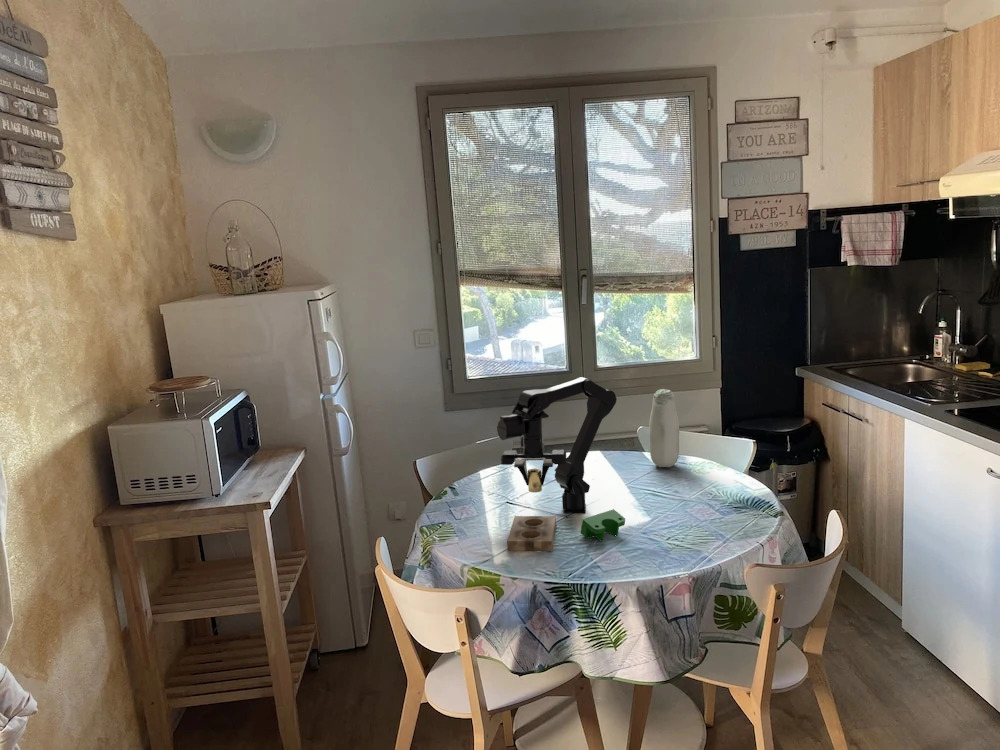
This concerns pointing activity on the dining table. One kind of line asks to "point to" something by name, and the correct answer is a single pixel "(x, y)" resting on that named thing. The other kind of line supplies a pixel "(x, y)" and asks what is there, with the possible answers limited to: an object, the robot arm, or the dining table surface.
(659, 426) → the white bottle
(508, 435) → the robot arm
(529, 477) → the brass sleeve
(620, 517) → the clamp
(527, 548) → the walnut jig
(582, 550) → the dining table surface
